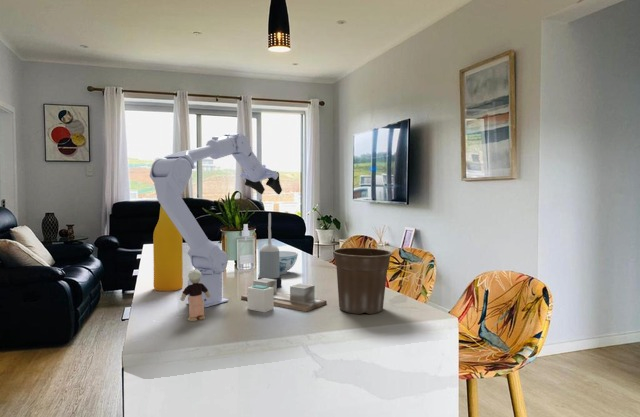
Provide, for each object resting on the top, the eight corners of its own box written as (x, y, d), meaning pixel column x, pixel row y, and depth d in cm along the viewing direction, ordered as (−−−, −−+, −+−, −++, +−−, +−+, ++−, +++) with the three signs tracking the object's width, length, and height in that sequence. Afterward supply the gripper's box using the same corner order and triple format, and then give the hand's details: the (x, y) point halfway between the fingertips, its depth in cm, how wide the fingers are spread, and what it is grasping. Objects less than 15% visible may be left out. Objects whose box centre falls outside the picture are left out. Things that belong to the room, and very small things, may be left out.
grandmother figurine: (203, 314, 119) (202, 266, 119) (212, 317, 117) (211, 268, 116) (177, 321, 113) (176, 270, 113) (186, 324, 111) (186, 272, 110)
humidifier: (283, 284, 158) (283, 212, 157) (279, 289, 150) (279, 213, 149) (260, 283, 159) (260, 212, 158) (254, 288, 151) (254, 213, 150)
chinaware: (302, 270, 184) (303, 252, 184) (289, 277, 170) (289, 257, 170) (269, 268, 189) (269, 250, 188) (253, 275, 174) (253, 255, 174)
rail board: (306, 311, 123) (306, 291, 122) (241, 299, 136) (241, 281, 136) (326, 303, 131) (326, 285, 131) (263, 293, 144) (263, 275, 144)
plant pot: (400, 306, 129) (400, 250, 128) (377, 320, 115) (377, 257, 114) (348, 299, 137) (349, 246, 136) (321, 311, 123) (322, 252, 122)
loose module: (264, 312, 122) (264, 289, 122) (247, 309, 125) (247, 286, 125) (273, 309, 125) (273, 286, 125) (257, 306, 129) (257, 284, 128)
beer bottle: (153, 292, 144) (152, 201, 143) (154, 286, 153) (153, 200, 152) (183, 290, 147) (182, 201, 146) (182, 284, 156) (182, 200, 155)
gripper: (273, 154, 143) (293, 183, 152) (239, 155, 151) (260, 183, 160) (263, 170, 139) (284, 199, 148) (229, 171, 147) (251, 198, 156)
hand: (271, 192), depth 154 cm, fingers open, 7 cm apart
